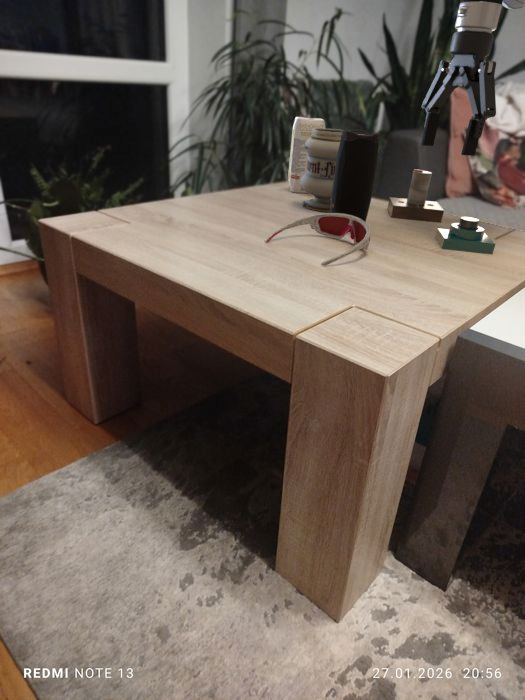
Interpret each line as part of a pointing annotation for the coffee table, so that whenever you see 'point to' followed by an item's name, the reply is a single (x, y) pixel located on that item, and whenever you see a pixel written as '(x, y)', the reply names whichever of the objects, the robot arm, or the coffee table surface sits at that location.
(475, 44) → the robot arm
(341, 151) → the portable speaker
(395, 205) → the brown block with holes
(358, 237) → the sunglasses
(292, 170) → the white carton
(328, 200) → the apothecary jar
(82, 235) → the coffee table surface
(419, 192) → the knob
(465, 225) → the grey short cylinder
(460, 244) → the green stepped pedestal
